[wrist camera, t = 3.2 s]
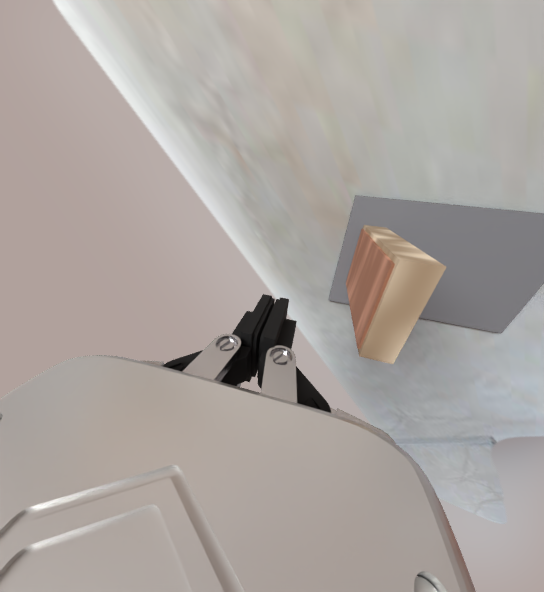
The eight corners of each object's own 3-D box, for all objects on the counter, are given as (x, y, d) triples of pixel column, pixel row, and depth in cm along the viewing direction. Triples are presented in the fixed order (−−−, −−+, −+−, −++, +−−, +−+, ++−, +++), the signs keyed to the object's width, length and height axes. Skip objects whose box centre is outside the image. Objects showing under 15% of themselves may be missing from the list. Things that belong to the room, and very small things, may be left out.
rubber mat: (591, 218, 19) (597, 218, 19) (498, 330, 26) (501, 333, 25) (355, 195, 23) (356, 195, 22) (328, 298, 30) (328, 300, 29)
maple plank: (386, 227, 23) (446, 267, 11) (364, 287, 27) (393, 364, 15) (362, 224, 24) (395, 259, 12) (344, 284, 28) (356, 355, 16)
